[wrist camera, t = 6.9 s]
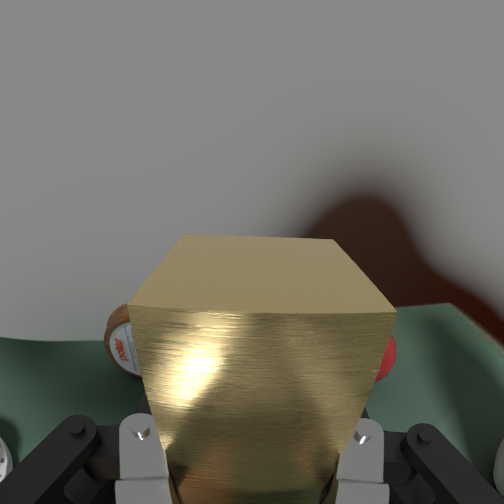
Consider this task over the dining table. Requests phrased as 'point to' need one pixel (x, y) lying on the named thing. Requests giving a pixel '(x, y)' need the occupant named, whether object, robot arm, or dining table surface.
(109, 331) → the tin
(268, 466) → the brass block
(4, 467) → the mechanical component
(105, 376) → the dining table surface
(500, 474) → the glass bottle
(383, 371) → the pomegranate
